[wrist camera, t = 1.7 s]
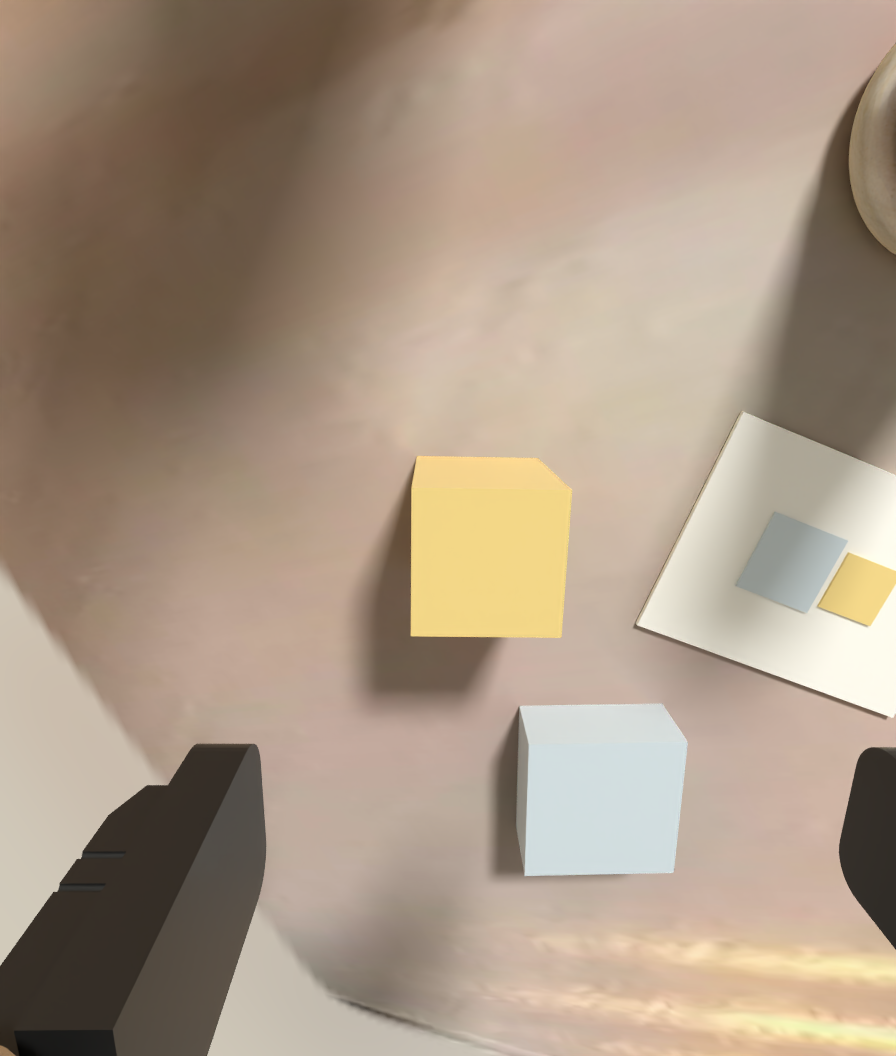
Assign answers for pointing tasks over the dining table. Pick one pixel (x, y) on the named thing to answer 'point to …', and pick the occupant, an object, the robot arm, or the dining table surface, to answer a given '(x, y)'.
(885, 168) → the stacking toy
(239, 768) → the robot arm
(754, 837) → the dining table surface
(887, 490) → the page
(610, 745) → the base brick
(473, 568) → the ochre brick
